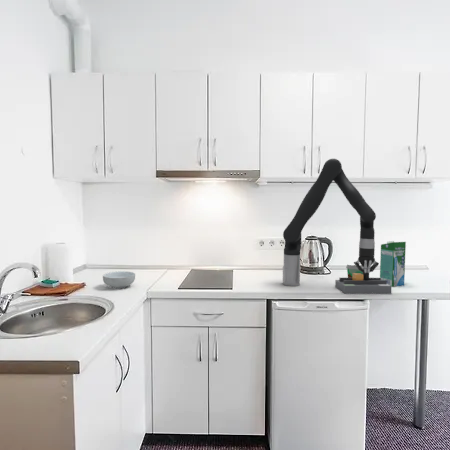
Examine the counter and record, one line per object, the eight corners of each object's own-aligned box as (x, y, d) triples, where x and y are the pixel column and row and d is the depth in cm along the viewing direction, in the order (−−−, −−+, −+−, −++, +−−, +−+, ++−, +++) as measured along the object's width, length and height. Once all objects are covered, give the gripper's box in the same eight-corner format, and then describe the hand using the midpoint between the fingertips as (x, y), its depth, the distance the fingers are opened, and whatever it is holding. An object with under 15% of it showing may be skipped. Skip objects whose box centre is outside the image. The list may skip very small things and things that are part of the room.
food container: (352, 283, 191) (352, 266, 190) (345, 281, 197) (346, 264, 196) (370, 282, 194) (370, 265, 194) (363, 280, 200) (363, 263, 199)
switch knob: (355, 283, 173) (355, 274, 173) (352, 281, 177) (352, 273, 177) (363, 283, 173) (363, 274, 173) (359, 281, 177) (359, 273, 177)
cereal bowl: (101, 291, 170) (101, 278, 170) (104, 284, 186) (103, 272, 186) (135, 289, 175) (135, 276, 175) (135, 282, 191) (135, 270, 191)
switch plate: (344, 293, 168) (344, 282, 168) (335, 287, 182) (335, 276, 182) (391, 293, 168) (391, 282, 168) (378, 287, 182) (378, 276, 182)
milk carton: (391, 281, 195) (392, 239, 194) (404, 285, 187) (405, 241, 186) (379, 283, 192) (380, 240, 191) (392, 286, 184) (393, 242, 182)
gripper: (357, 248, 170) (356, 281, 171) (382, 248, 171) (381, 281, 172) (351, 246, 178) (350, 277, 179) (375, 246, 178) (374, 278, 179)
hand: (365, 279), depth 175 cm, fingers closed
